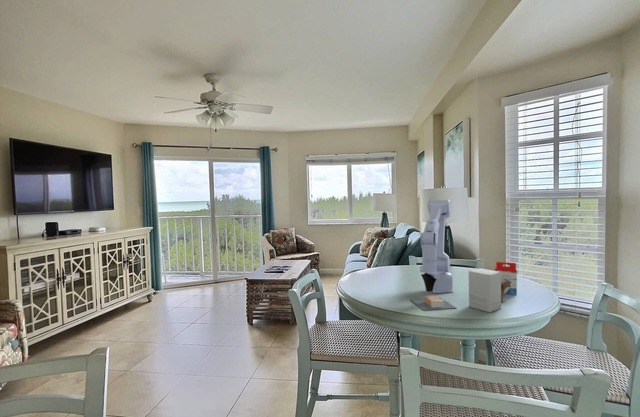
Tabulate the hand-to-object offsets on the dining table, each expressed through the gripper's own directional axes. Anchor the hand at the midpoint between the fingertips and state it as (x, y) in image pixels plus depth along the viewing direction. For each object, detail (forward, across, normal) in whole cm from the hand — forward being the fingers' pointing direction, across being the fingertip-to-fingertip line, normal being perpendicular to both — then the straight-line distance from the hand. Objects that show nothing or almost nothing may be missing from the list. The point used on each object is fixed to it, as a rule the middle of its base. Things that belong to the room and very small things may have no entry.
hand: (429, 291), depth 136 cm
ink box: (+5, -7, +41) cm, 42 cm away
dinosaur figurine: (+5, +3, +29) cm, 30 cm away
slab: (+3, +1, 0) cm, 3 cm away
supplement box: (+5, +10, +19) cm, 22 cm away
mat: (+5, +2, 0) cm, 5 cm away
